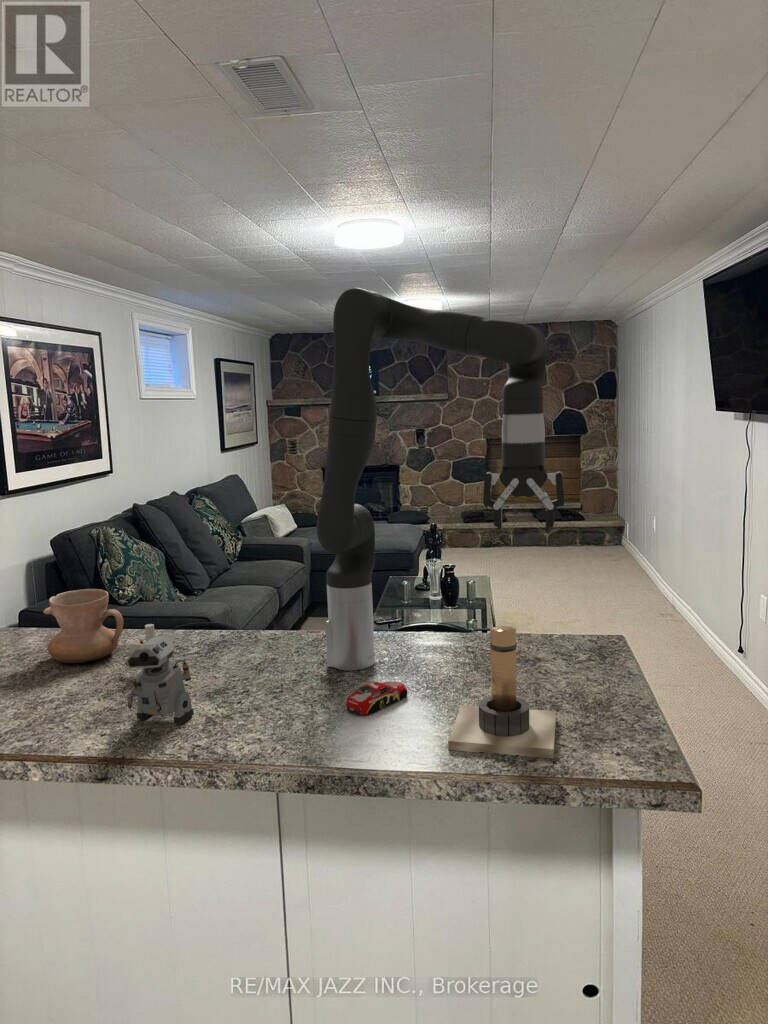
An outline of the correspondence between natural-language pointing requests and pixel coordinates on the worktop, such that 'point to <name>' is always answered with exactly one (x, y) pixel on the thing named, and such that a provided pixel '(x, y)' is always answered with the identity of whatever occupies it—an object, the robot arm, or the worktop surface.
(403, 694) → the race car
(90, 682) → the worktop surface
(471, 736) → the collar plate
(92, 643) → the ceramic jug
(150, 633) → the pipe connector
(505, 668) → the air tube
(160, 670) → the figurine
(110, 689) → the worktop surface
